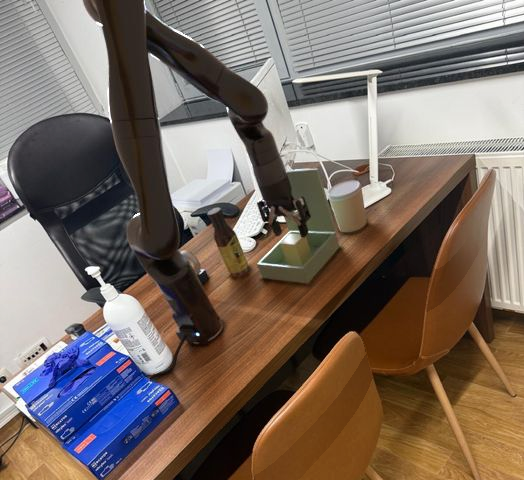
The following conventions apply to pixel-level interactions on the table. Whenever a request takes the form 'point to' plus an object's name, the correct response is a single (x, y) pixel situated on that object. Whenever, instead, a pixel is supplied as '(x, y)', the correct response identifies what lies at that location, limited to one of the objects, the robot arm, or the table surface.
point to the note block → (296, 250)
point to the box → (321, 252)
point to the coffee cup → (348, 205)
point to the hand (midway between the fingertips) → (291, 235)
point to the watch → (196, 266)
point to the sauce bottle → (228, 244)
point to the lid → (311, 199)
